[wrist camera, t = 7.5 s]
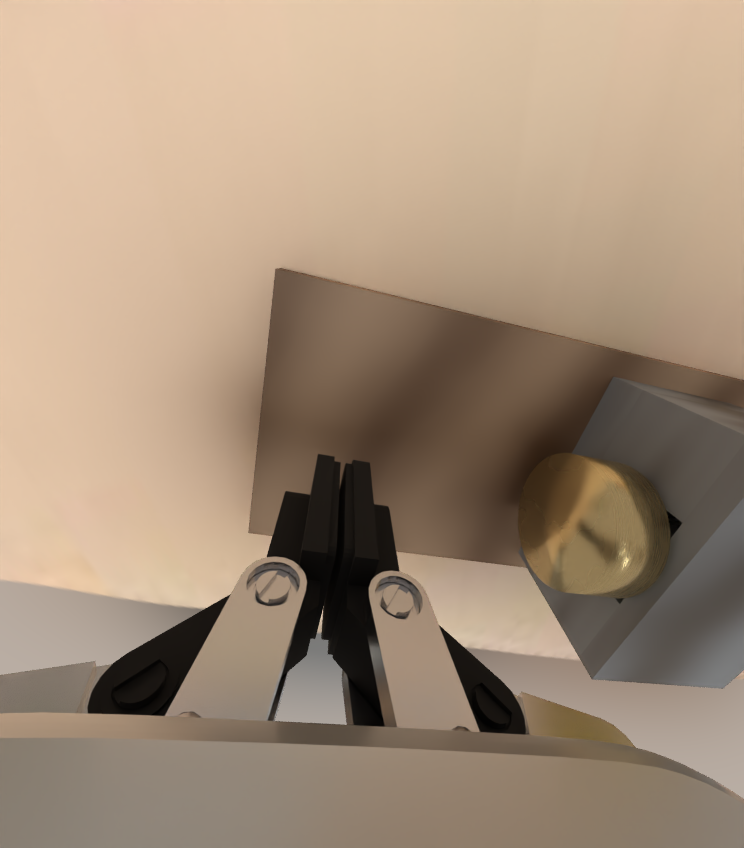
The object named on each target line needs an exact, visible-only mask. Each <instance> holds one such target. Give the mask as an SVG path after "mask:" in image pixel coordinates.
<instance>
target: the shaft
mask: <svg viewBox="0 0 744 848" xmlns="http://www.w3.org/2000/svg"><path fill="white" fill-rule="evenodd" d="M681 524H682V522H681V521H680V520H678V519H677V518H676V517H674V516H673V515H672V514H671V513H669V512H668V511H667V510H666V509H665V506H664V503H663V501H662V499H661V497H660V495H659V493H658V492H657V490H656V489H655V488H654V486H653V485H652V484H651V483H650V481H649V480H648V479H647V478H646V477H645V476H643V475H642V474H641V473H640V472H639V471H637V470H635V469H634V468H632V467H630V466H628V465H625V464H622V463H619V462H614V461H609V460H603V459H598V458H592V457H587V456H582V455H576V454H570V453H558V454H554V455H551V456H549V457H547V458H546V459H544V460H542V461H541V462H540V463H539V464H538V465H537V466H536V467H535V468H534V469H533V471H532V472H531V473H530V475H529V477H528V479H527V480H526V483H525V485H524V487H523V490H522V493H521V497H520V502H519V509H518V530H519V537H520V542H521V546H522V549H523V552H524V555H525V557H526V559H527V561H528V563H529V565H530V567H531V569H532V570H533V572H534V573H535V574H536V575H537V577H538V578H539V579H540V580H541V581H542V582H543V583H545V584H546V585H548V586H549V587H550V588H553V589H555V590H557V591H560V592H566V593H574V594H583V595H592V596H601V597H609V598H629V597H633V596H636V595H638V594H641V593H643V592H644V591H646V590H647V589H648V588H650V587H651V586H652V585H653V584H654V583H655V582H656V581H657V579H658V578H659V576H660V575H661V573H662V571H663V569H664V567H665V565H666V562H667V559H668V555H669V550H670V539H671V537H672V536H673V535H674V534H675V532H676V531H677V530H678V528H679V527H680V526H681Z"/></svg>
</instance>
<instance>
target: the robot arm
mask: <svg viewBox="0 0 744 848" xmlns="http://www.w3.org/2000/svg"><path fill="white" fill-rule="evenodd" d="M340 467H341V462H337V461H335V457H334V456H328V455H322V454H318V456H317V461H316V466H315V472H314V477H313V482H312V488H311V493H310V494H303V493H296V492H290V491H285V494H284V497H283V501H282V504H281V508H280V512H279V515H278V519H277V522H276V526H275V529H274V533H273V536H272V540H271V544H270V547H269V551H268V554H267V558H263V559H260V560H258V561H255V562H254V563H252V564H251V565H250V566H248V567H247V568H246V570H245V571H244V572H243V573H242V575H241V577H240V578H239V580H238V582H237V584H236V586H235V588H234V590H233V591H232V593H231V594H230V595H229V596H227V597H225V598H223V599H222V600H220V601H218V602H216V603H215V604H213V605H211V606H209V607H208V608H206V609H204V610H202V611H201V612H199V613H197V614H195V615H194V616H192V617H190V618H189V619H187V620H185V621H183V622H181V623H180V624H178V625H176V626H175V627H173V628H171V629H169V630H167V631H166V632H164V633H162V634H160V635H159V636H157V637H155V638H153V639H152V640H150V641H148V642H146V643H145V644H143V645H141V646H139V647H138V648H136V649H134V650H132V651H131V652H129V653H127V654H126V655H124V656H123V657H121V658H120V659H119V660H117V661H116V662H114V663H113V664H111V665H105V666H98V667H96V664H95V661H93V662H86V663H80V664H73V665H66V666H59V667H52V668H46V669H39V670H32V671H25V672H18V673H11V674H4V675H0V848H744V799H743V798H741V797H740V796H739V795H737V794H736V793H734V792H733V791H731V790H729V789H728V788H726V787H724V786H723V785H721V784H719V783H718V782H716V781H715V780H713V779H711V778H709V777H707V776H705V775H703V774H701V773H699V772H697V771H695V770H693V769H691V768H689V767H687V766H685V765H683V764H681V763H678V762H676V761H674V760H671V759H669V758H666V757H663V756H661V755H658V754H655V753H652V752H649V751H646V750H642V749H638V748H636V747H635V746H634V745H633V744H632V743H631V741H630V740H629V739H628V738H627V737H626V735H624V734H623V733H622V732H621V731H620V730H619V729H617V728H616V727H615V726H614V725H612V724H610V723H609V722H607V721H605V720H603V719H601V718H598V717H595V716H591V715H589V714H586V713H583V712H580V711H577V710H574V709H571V708H568V707H565V706H562V705H559V704H556V703H553V702H550V701H547V700H545V699H542V698H539V697H536V696H533V695H530V694H527V693H524V692H521V693H520V694H519V696H517V695H514V694H513V693H512V692H511V690H510V689H509V688H508V687H507V686H506V685H505V684H504V683H503V682H502V681H501V680H500V679H499V678H498V677H497V676H495V675H494V674H493V673H492V672H491V671H490V670H489V669H487V668H486V667H485V666H484V665H483V664H482V663H481V662H480V661H479V660H478V659H476V658H475V657H474V656H473V655H472V654H471V653H470V652H469V651H467V650H466V649H465V648H464V647H463V646H462V645H461V644H460V643H458V642H457V641H456V640H455V639H454V638H453V637H452V636H451V635H450V634H448V633H447V632H446V631H445V630H444V629H443V628H442V627H441V626H439V624H438V622H437V619H436V616H435V614H434V611H433V609H432V606H431V603H430V601H429V598H428V596H427V594H426V592H425V590H424V588H423V587H422V586H421V585H420V584H419V583H418V581H417V580H415V579H414V578H412V577H411V576H409V575H407V574H405V573H402V572H399V566H398V560H397V554H396V547H395V541H394V535H393V528H392V522H391V515H390V510H389V507H388V506H384V505H377V504H374V499H373V488H372V478H371V468H370V463H369V462H364V461H358V460H353V461H352V464H349V463H346V464H345V467H344V471H343V476H342V480H341V484H340ZM339 488H340V489H339ZM323 606H324V608H323ZM322 610H323V621H322V635H321V636H322V637H321V638H322V639H324V640H329V641H328V643H329V644H328V654H332V655H333V659H334V660H335V661H336V662H337V664H338V665H339V666H340V667H341V668H342V669H343V670H342V687H343V696H344V704H345V714H346V722H347V725H340V724H319V723H300V722H280V721H275V718H276V715H277V711H278V708H279V704H280V701H281V697H282V694H283V691H284V687H285V684H286V680H287V677H288V672H289V670H290V669H291V668H292V667H294V666H295V665H296V664H297V663H298V662H300V661H301V660H302V659H303V658H304V657H305V656H306V655H307V651H308V646H309V643H310V639H311V638H313V639H315V637H316V634H317V630H318V626H319V622H320V618H321V614H322Z"/></svg>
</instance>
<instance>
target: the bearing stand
mask: <svg viewBox="0 0 744 848" xmlns="http://www.w3.org/2000/svg"><path fill="white" fill-rule="evenodd" d="M558 453H570V454H576V455H582V456H587V457H592V458H598V459H603V460H609V461H614V462H619V463H622V464H625V465H628V466H630V467H632V468H634V469H635V470H637V471H639V472H640V473H641V474H642V475H643V476H645V477H646V478H647V479H648V480H649V481H650V483H651V484H652V485H653V486H654V488H655V489H656V490H657V492H658V493H659V495H660V497H661V499H662V501H663V503H664V506H665V509H666V510H667V511H668V512H669V513H671V514H672V515H673V516H674V517H676V518H677V519H678V520H680V521H681V522H682V524H681V526H680V527H679V528H678V530H677V531H676V532H675V534H674V535H673V536H672V537H671V539H670V550H669V555H668V559H667V562H666V565H665V567H664V569H663V571H662V573H661V575H660V576H659V578H658V579H657V581H656V582H655V583H654V584H653V585H652V586H651V587H650V588H648V589H647V590H646V591H644V592H643V593H641V594H638V595H636V596H633V597H629V598H609V597H601V596H592V595H583V594H574V593H566V592H560V591H557V590H555V589H553V588H550V587H549V586H548V585H546V584H545V583H543V582H542V581H541V580H540V579H539V578H538V577H537V575H536V574H535V573H534V572H533V570H532V569H531V567H530V565H529V563H528V561H527V559H526V557H525V555H524V552H523V549H522V546H521V542H520V537H519V530H518V509H519V502H520V497H521V493H522V490H523V487H524V485H525V483H526V480H527V479H528V477H529V475H530V473H531V472H532V471H533V469H534V468H535V467H536V466H537V465H538V464H539V463H540V462H541V461H542V460H544V459H546V458H547V457H549V456H551V455H554V454H558ZM318 454H322V455H328V456H334V457H335V461H337V462H341V467H340V484H341V480H342V476H343V471H344V467H345V464H346V463H349V464H352V461H353V460H358V461H364V462H369V463H370V468H371V478H372V488H373V499H374V504H377V505H384V506H388V507H389V510H390V515H391V522H392V528H393V535H394V541H395V547H396V551H398V552H406V553H414V554H422V555H430V556H438V557H446V558H454V559H462V560H470V561H478V562H486V563H494V564H502V565H510V566H518V567H526V568H528V570H529V572H530V574H531V575H532V577H533V579H534V580H535V582H536V584H537V586H538V587H539V589H540V591H541V592H542V594H543V596H544V598H545V599H546V601H547V603H548V604H549V606H550V608H551V610H552V611H553V613H554V615H555V617H556V618H557V620H558V622H559V623H560V625H561V627H562V629H563V630H564V632H565V634H566V635H567V637H568V639H569V641H570V642H571V644H572V646H573V647H574V649H575V651H576V653H577V654H578V656H579V658H580V660H581V661H582V663H583V665H584V666H585V668H586V670H587V671H588V673H589V675H590V677H591V678H592V679H595V680H609V681H624V682H637V683H652V684H665V685H680V686H693V687H708V688H724V687H725V686H726V685H727V684H729V683H730V681H732V680H733V679H734V678H735V677H736V676H738V675H739V674H740V673H741V672H742V671H743V670H744V380H740V379H736V378H732V377H728V376H723V375H719V374H715V373H711V372H707V371H703V370H699V369H695V368H690V367H686V366H682V365H678V364H674V363H670V362H666V361H662V360H657V359H653V358H649V357H645V356H641V355H637V354H633V353H629V352H624V351H620V350H616V349H612V348H608V347H604V346H600V345H596V344H591V343H587V342H583V341H579V340H575V339H571V338H567V337H563V336H558V335H554V334H550V333H546V332H542V331H538V330H534V329H530V328H525V327H521V326H517V325H513V324H509V323H505V322H501V321H496V320H492V319H488V318H484V317H480V316H476V315H472V314H468V313H463V312H459V311H455V310H451V309H447V308H443V307H439V306H435V305H430V304H426V303H422V302H418V301H414V300H410V299H406V298H402V297H397V296H393V295H389V294H385V293H381V292H377V291H373V290H369V289H364V288H360V287H356V286H352V285H348V284H344V283H340V282H336V281H331V280H327V279H323V278H319V277H315V276H311V275H307V274H303V273H298V272H294V271H290V270H286V269H282V268H279V269H276V270H275V280H274V290H273V299H272V309H271V319H270V329H269V338H268V348H267V358H266V367H265V377H264V387H263V396H262V406H261V416H260V425H259V435H258V445H257V455H256V464H255V474H254V484H253V493H252V503H251V513H250V522H249V532H248V533H253V534H261V535H269V536H273V533H274V529H275V526H276V522H277V519H278V515H279V512H280V508H281V504H282V501H283V497H284V494H285V491H290V492H296V493H303V494H310V493H311V488H312V482H313V477H314V472H315V466H316V461H317V456H318ZM339 489H340V488H339Z"/></svg>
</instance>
